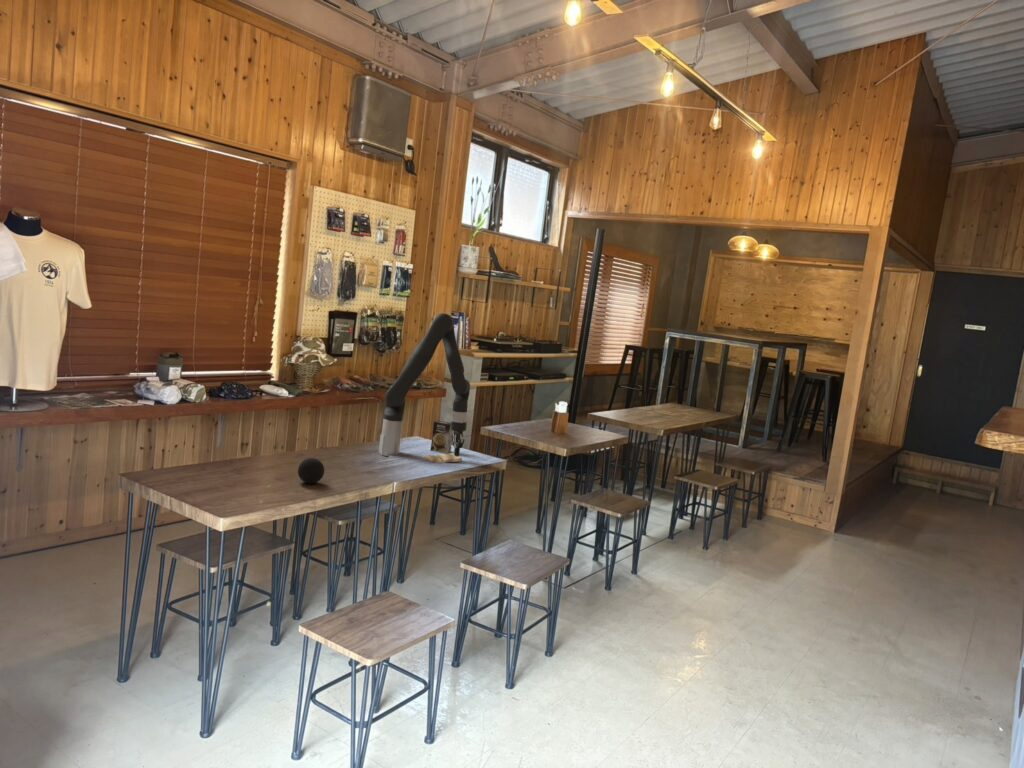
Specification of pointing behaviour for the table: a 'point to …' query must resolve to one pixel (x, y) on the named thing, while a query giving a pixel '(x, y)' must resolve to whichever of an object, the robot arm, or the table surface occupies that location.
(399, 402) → the robot arm
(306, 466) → the speaker
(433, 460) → the plank
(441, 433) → the coffee box
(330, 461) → the table surface
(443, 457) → the loose plank
